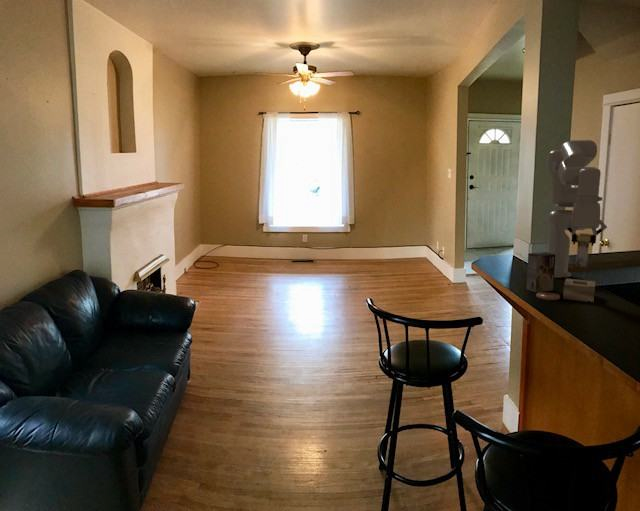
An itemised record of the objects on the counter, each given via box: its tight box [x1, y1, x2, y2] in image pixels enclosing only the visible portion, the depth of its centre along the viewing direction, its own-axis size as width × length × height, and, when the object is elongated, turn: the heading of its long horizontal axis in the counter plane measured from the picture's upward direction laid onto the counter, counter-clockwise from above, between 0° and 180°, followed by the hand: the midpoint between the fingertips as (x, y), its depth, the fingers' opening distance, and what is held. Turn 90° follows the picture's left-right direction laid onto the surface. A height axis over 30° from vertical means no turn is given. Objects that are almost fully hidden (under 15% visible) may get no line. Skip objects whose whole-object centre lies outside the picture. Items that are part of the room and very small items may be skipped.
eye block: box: [562, 278, 596, 303], centre depth 209 cm, size 11×11×6 cm
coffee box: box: [526, 251, 555, 293], centre depth 220 cm, size 9×6×16 cm
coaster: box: [535, 291, 561, 301], centre depth 210 cm, size 9×9×1 cm
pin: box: [575, 232, 593, 268], centre depth 206 cm, size 6×6×13 cm
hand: (583, 244), depth 206 cm, fingers closed on pin, 6 cm apart
